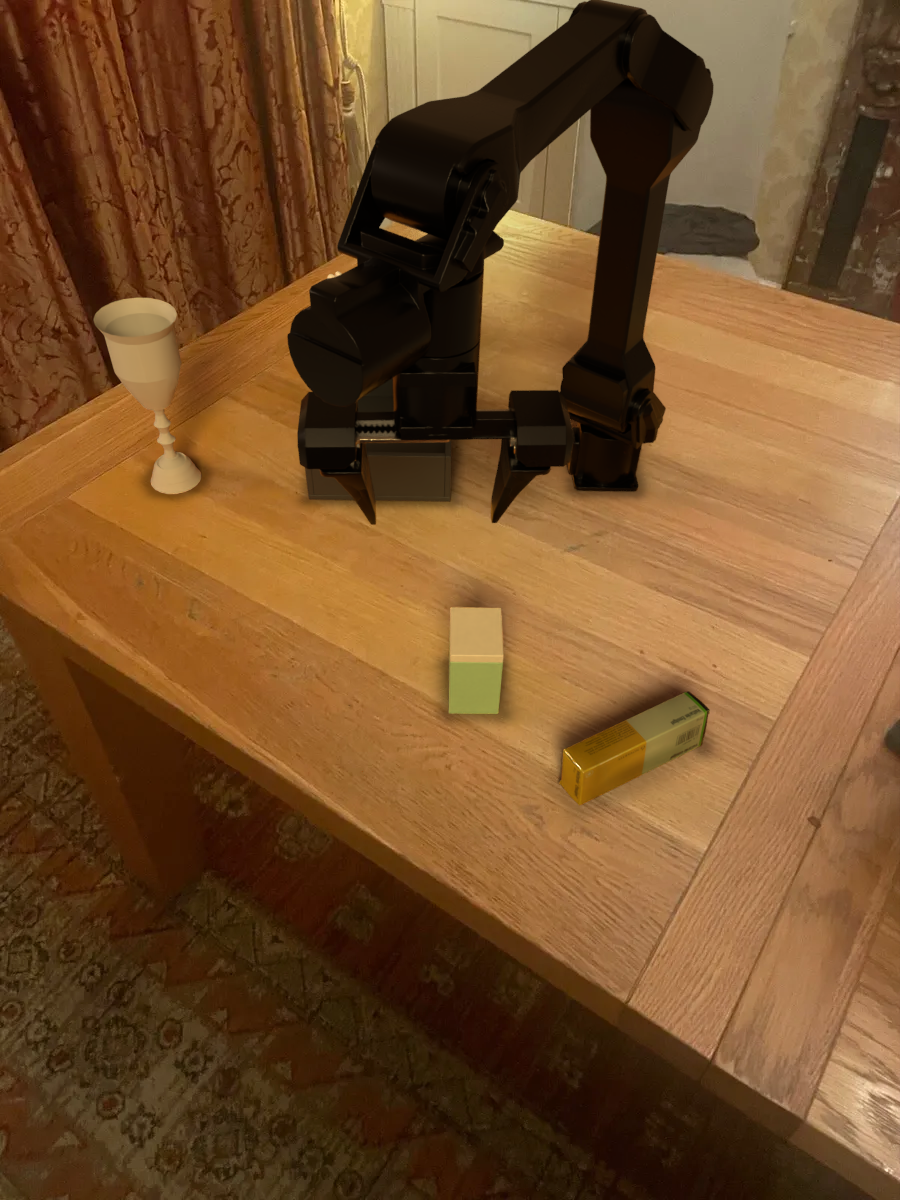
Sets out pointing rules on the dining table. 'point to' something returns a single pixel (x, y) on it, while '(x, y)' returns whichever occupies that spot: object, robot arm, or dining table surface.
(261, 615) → the dining table surface
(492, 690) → the juice carton
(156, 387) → the chalice
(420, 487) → the bin
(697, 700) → the medication box
